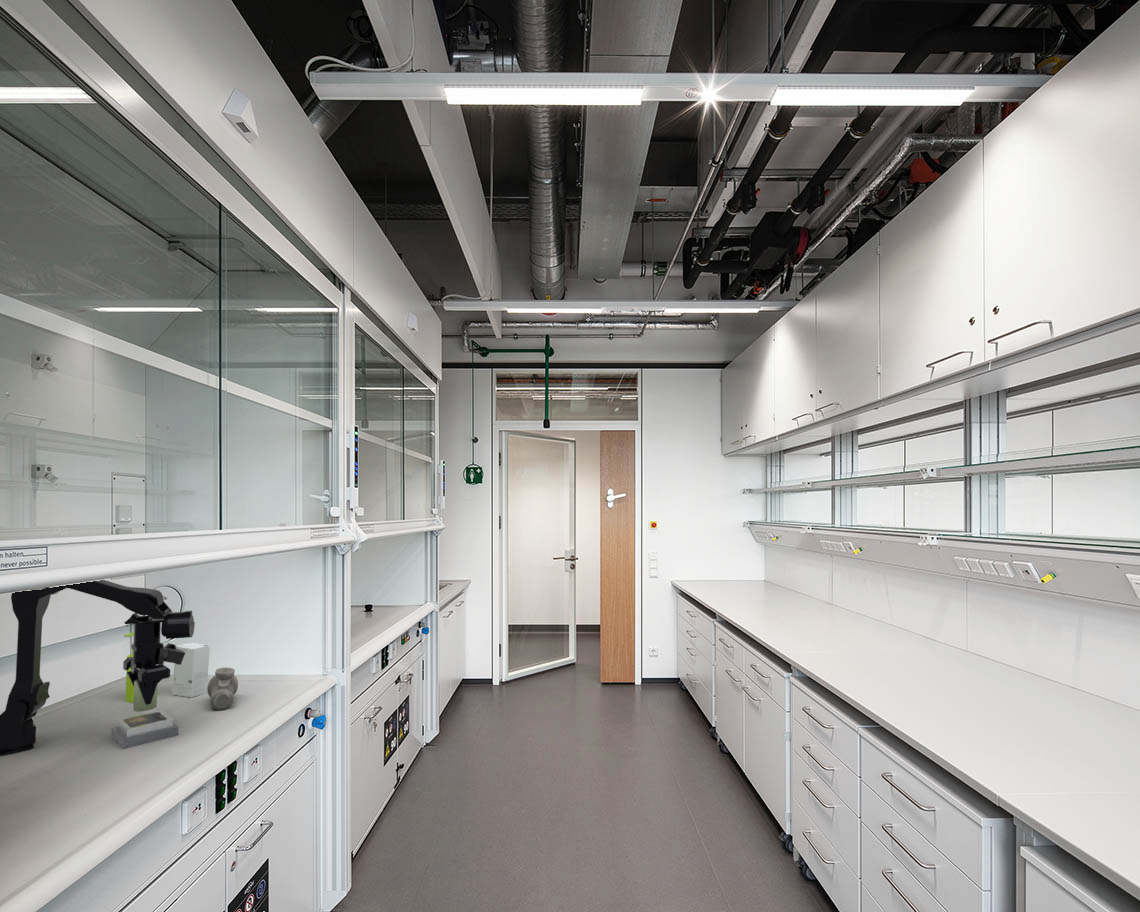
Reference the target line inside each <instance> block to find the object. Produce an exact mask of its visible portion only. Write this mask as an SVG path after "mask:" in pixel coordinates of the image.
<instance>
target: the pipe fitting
mask: <svg viewBox="0 0 1140 912" xmlns="http://www.w3.org/2000/svg"><path fill="white" fill-rule="evenodd" d="M235 671H236V670H235V668H233V667H220V668H217V669H216V670H215V674H214V675H213V677H211V678H210V680H209V681H208V682H207V694H208V696H209V698H210V700H209V702H210V706H211V707H212V708H213V709H215V710H216V711H224V710H226V709H228V708H229V707H231V706H232V704H233V702H234V700H235V699H234V697H235V695H236V693H237V691H238V688H239V680H238V678H237V676H235Z"/></svg>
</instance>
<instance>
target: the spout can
mask: <svg viewBox="0 0 1140 912" xmlns="http://www.w3.org/2000/svg"><path fill="white" fill-rule="evenodd" d="M157 704H158V686H157V687H156V689H155V692H154V695H153V699H152V702H151V704H148V705H146V704H145V702H144V700H143V697H142V695H141V692H140V689H139V687H138V684H137V682H136V680H135V681H134V702H133V705H132V707H133V710H132V711H133V712H146V711H150V710H153V709H155V708H157Z"/></svg>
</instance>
